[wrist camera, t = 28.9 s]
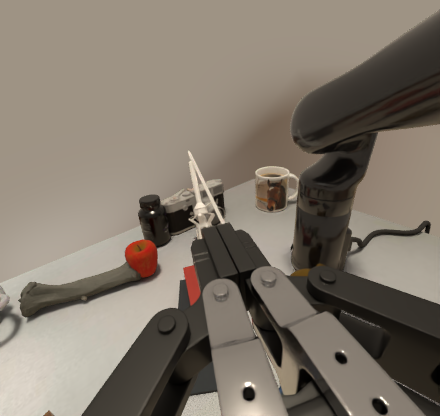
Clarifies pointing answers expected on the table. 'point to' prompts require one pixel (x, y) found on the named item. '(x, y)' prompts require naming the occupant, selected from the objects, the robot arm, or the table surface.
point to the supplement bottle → (154, 220)
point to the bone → (73, 289)
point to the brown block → (48, 414)
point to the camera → (193, 206)
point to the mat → (207, 374)
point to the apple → (142, 257)
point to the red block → (192, 284)
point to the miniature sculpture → (200, 207)
